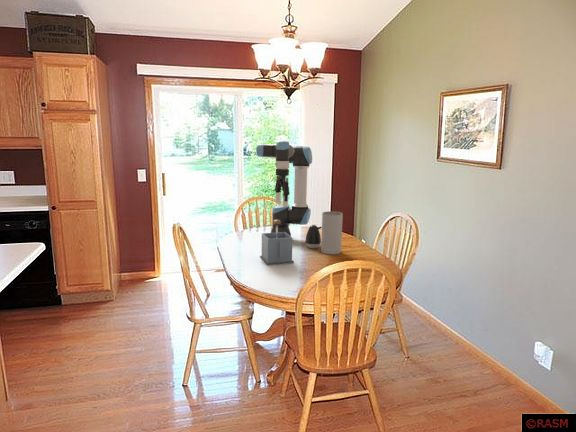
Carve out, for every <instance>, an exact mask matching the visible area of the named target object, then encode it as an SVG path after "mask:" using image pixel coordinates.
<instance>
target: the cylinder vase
mask: <svg viewBox="0 0 576 432" xmlns="http://www.w3.org/2000/svg"><path fill="white" fill-rule="evenodd" d="M321 215H322V216H321V217H322V218H321V227H322V228H321V243H320V247H321V248H320V251H321V253H323V254H326V255H332V256H333V255H339V254H341V252H342V241H343V240H342V238H343V212H341V211H329V210H327V211H323V212H322V214H321Z"/></svg>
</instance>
